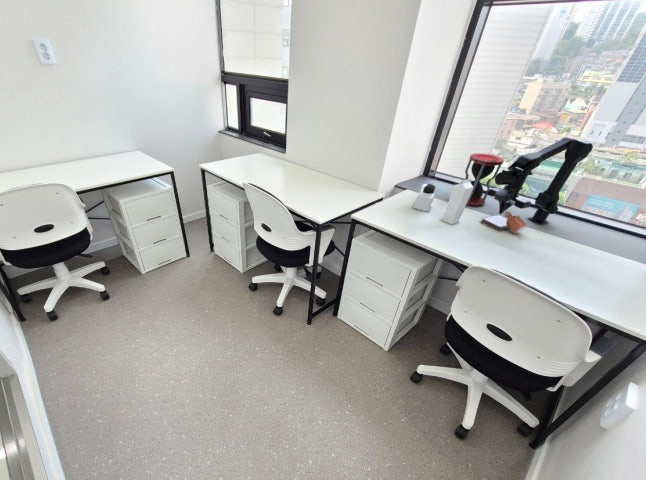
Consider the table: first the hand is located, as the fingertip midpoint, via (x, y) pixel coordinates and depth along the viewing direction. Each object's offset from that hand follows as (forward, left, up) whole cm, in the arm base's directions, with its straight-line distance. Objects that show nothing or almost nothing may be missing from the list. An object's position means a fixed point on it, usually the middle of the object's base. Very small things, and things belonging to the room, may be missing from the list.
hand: (500, 213), depth 157 cm
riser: (0, +1, -5) cm, 6 cm away
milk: (+21, -10, -6) cm, 24 cm away
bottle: (0, +8, -5) cm, 9 cm away
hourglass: (-11, -26, -6) cm, 29 cm away
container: (+23, -28, -6) cm, 37 cm away
